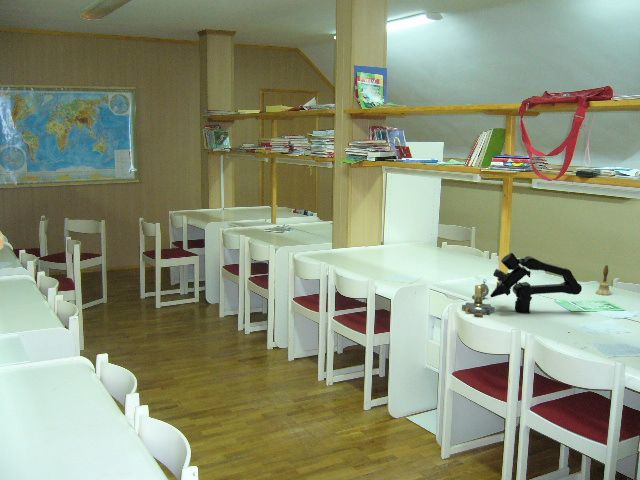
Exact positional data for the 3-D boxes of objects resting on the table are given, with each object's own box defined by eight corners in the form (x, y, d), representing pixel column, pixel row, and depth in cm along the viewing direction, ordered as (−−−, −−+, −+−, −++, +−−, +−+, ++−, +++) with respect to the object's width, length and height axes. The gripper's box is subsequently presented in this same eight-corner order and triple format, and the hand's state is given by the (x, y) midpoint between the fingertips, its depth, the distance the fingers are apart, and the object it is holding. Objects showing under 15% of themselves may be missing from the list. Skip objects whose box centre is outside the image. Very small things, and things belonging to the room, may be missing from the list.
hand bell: (608, 292, 374) (611, 264, 372) (613, 295, 366) (616, 267, 364) (593, 291, 375) (595, 263, 373) (598, 295, 367) (600, 266, 364)
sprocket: (494, 307, 336) (495, 285, 334) (495, 315, 320) (496, 293, 319) (461, 305, 339) (463, 283, 337) (461, 313, 324) (462, 291, 322)
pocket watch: (470, 298, 354) (471, 280, 352) (474, 295, 361) (475, 277, 360) (486, 300, 350) (487, 282, 349) (489, 297, 358) (491, 279, 356)
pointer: (482, 316, 321) (482, 313, 321) (482, 317, 318) (482, 315, 318) (474, 315, 322) (474, 312, 322) (474, 317, 319) (474, 314, 319)
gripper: (502, 260, 337) (479, 280, 341) (504, 267, 319) (479, 288, 323) (518, 276, 337) (494, 296, 341) (520, 285, 319) (495, 305, 323)
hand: (490, 296), depth 332 cm, fingers closed
